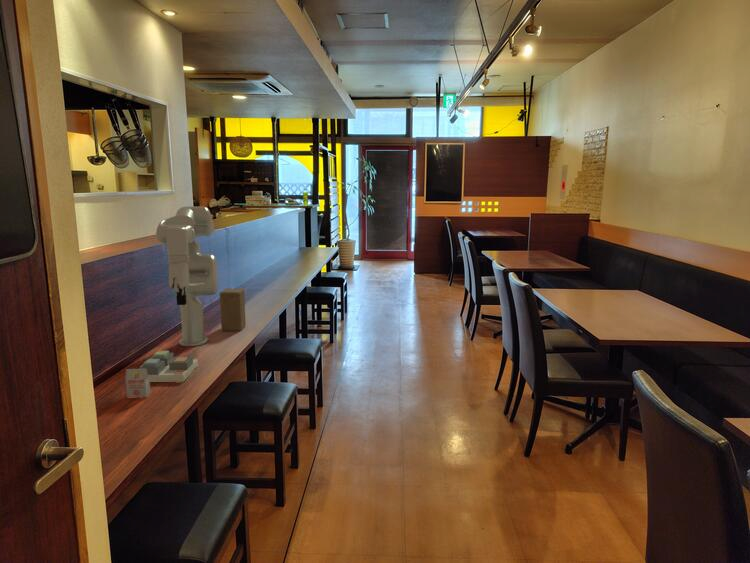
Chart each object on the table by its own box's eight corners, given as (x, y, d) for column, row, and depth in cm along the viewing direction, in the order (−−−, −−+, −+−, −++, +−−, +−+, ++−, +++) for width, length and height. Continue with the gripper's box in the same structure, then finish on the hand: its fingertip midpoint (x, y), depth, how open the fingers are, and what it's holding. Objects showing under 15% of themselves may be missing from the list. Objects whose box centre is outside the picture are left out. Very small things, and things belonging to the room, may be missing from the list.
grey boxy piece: (130, 394, 166) (127, 367, 164) (150, 393, 167) (148, 366, 165) (126, 399, 163) (123, 371, 161) (146, 398, 163) (144, 370, 161)
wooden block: (241, 331, 239) (239, 292, 235) (221, 331, 239) (218, 292, 235) (246, 325, 249) (244, 288, 245) (227, 325, 249) (225, 288, 245)
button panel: (157, 366, 191) (156, 352, 190) (198, 366, 192) (197, 352, 191) (139, 382, 176) (138, 367, 175) (184, 382, 176) (182, 367, 175)
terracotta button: (177, 363, 185) (177, 357, 185) (188, 363, 186) (188, 357, 185) (173, 367, 181) (173, 361, 181) (185, 367, 181) (184, 361, 181)
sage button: (158, 356, 189) (158, 350, 189) (169, 356, 189) (169, 350, 189) (154, 360, 185) (153, 354, 185) (165, 360, 185) (164, 354, 185)
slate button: (149, 364, 180) (148, 358, 180) (160, 364, 181) (159, 358, 180) (144, 369, 176) (143, 362, 176) (155, 368, 176) (155, 362, 176)
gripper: (175, 256, 193) (179, 300, 197) (161, 261, 178) (164, 309, 182) (194, 256, 193) (197, 300, 197) (181, 261, 179) (184, 309, 182)
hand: (181, 304), depth 189 cm, fingers closed
